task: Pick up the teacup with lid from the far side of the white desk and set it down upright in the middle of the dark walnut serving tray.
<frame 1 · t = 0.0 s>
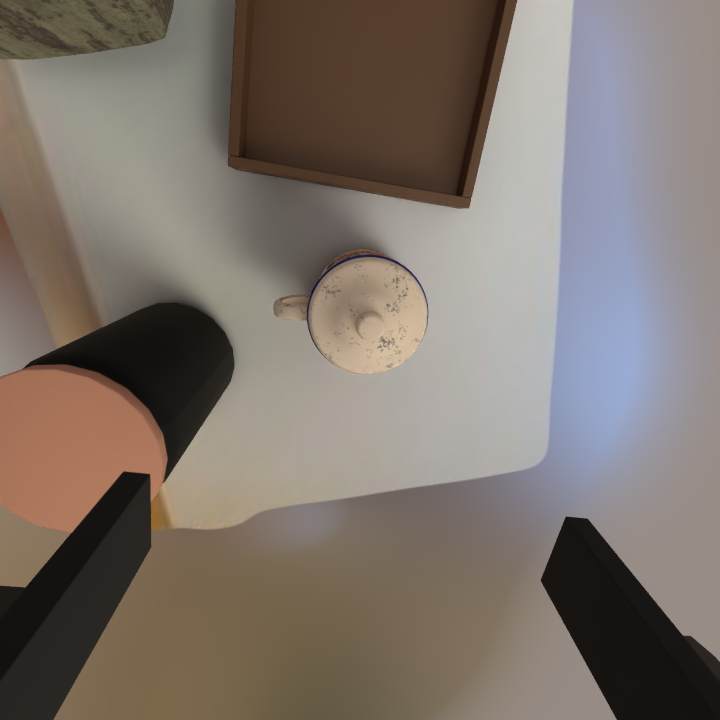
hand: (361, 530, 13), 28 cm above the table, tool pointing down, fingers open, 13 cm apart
tray: (367, 71, 33), on the table
teacup with lid: (346, 295, 39), on the table
green bell: (105, 3, 31), on the table
coffee jar: (182, 353, 40), on the table
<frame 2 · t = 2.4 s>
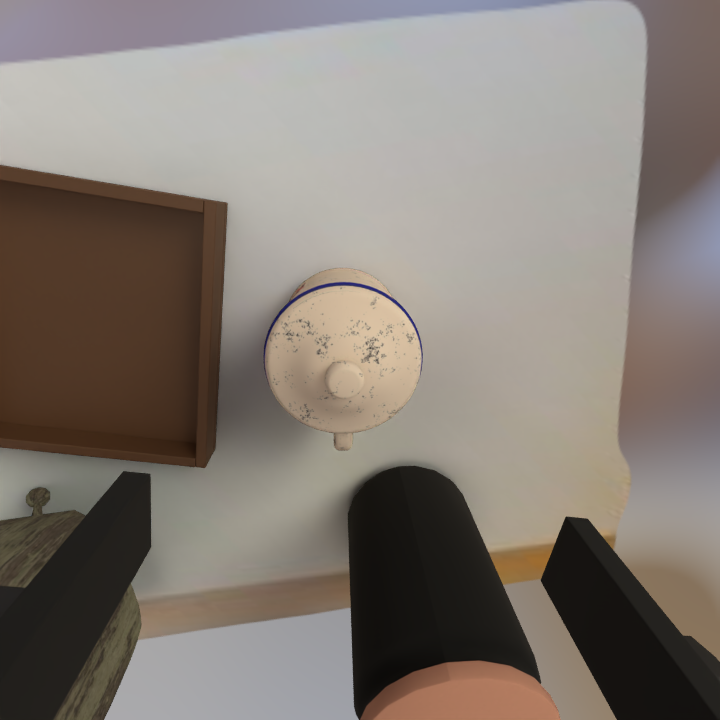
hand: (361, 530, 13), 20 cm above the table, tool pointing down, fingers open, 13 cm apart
tray: (100, 322, 30), on the table
teacup with lid: (342, 341, 32), on the table
green bell: (100, 533, 37), on the table
coffee jar: (404, 507, 38), on the table
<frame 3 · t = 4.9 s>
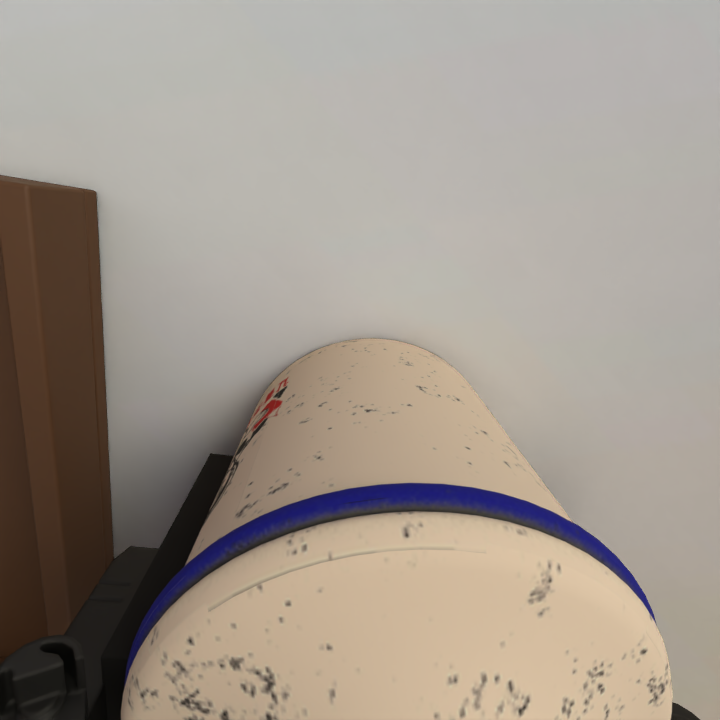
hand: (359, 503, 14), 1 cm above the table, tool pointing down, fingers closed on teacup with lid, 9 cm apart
teacup with lid: (366, 477, 16), on the table, touching gripper
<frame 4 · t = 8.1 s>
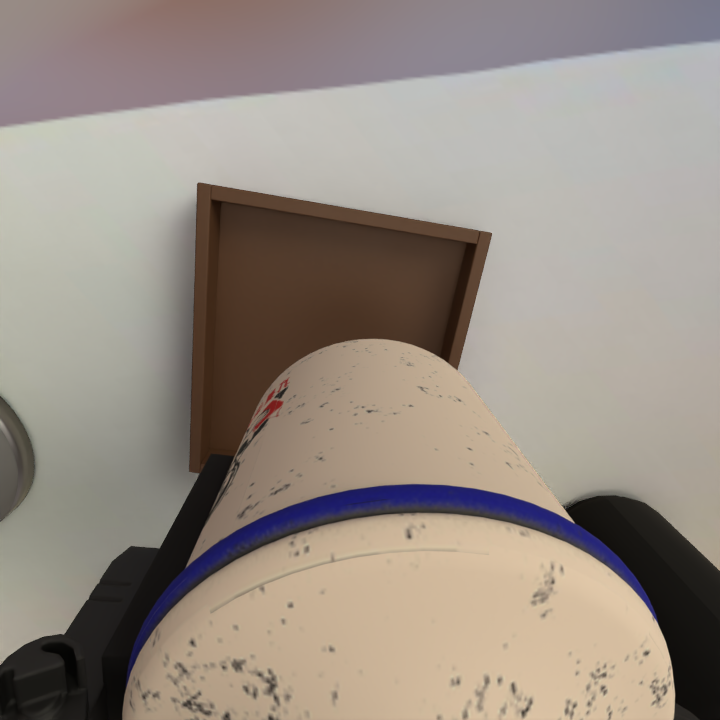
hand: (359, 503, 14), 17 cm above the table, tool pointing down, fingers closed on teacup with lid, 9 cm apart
tray: (328, 350, 30), on the table
teacup with lid: (367, 478, 16), point 15 cm above the table, touching gripper
coffee jar: (595, 537, 37), on the table
when the fingers open (2 cm above the table, at t = 11.4 s): teacup with lid stays where it is, resting on tray.
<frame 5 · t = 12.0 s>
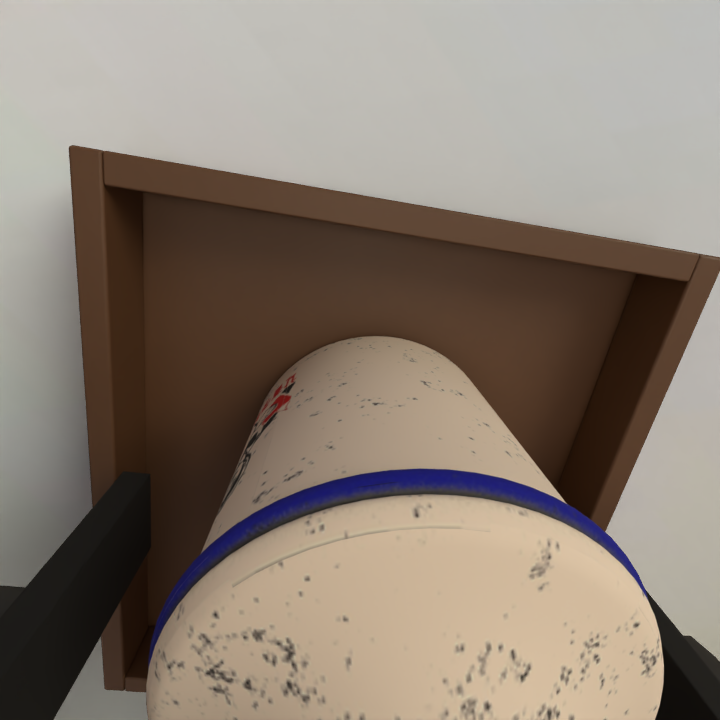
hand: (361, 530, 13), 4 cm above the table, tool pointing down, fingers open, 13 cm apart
tray: (359, 463, 17), on the table
teacup with lid: (370, 472, 16), resting on tray
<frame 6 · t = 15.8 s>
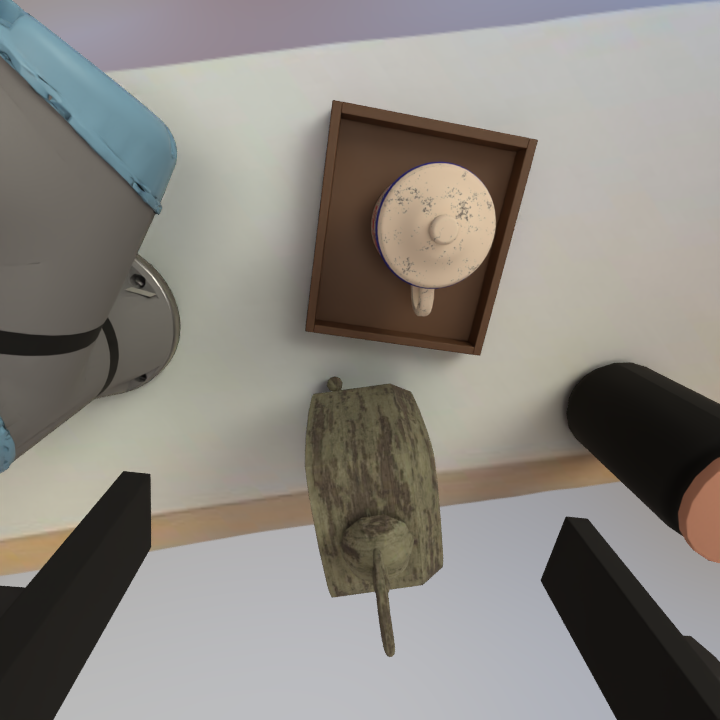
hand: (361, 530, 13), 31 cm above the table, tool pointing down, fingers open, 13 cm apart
tray: (409, 239, 40), on the table
teacup with lid: (414, 241, 39), resting on tray
green bell: (365, 420, 46), on the table
coffee jar: (606, 401, 47), on the table
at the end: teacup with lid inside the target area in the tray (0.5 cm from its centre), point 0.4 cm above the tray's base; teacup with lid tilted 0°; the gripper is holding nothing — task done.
